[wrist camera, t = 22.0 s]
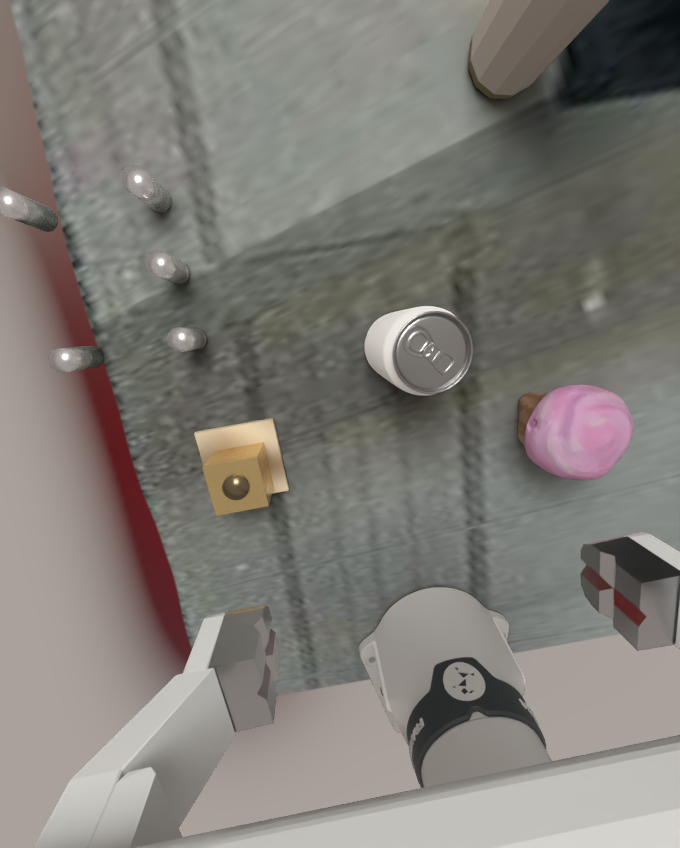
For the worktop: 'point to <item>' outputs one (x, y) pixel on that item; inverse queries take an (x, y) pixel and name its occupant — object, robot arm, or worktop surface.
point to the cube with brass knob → (239, 478)
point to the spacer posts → (156, 262)
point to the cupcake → (575, 430)
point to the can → (420, 349)
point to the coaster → (246, 436)
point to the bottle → (523, 41)
